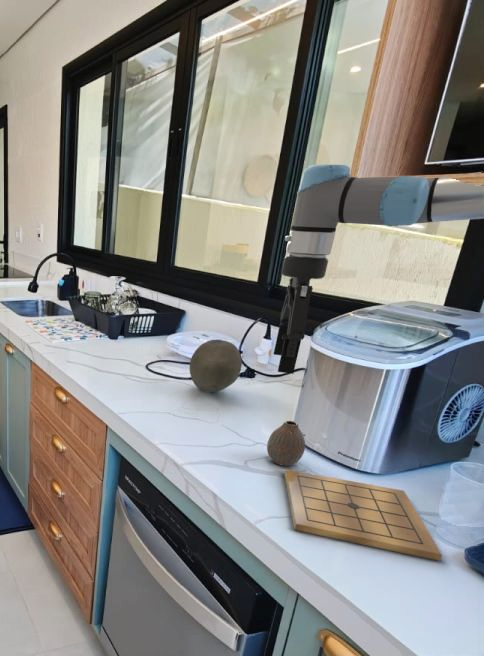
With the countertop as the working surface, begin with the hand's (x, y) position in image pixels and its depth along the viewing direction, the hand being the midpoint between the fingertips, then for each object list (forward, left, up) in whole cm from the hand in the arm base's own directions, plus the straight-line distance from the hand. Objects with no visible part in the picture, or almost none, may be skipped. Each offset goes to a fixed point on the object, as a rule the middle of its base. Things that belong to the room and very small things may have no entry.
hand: (282, 363), depth 103 cm
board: (-13, +21, -20) cm, 32 cm away
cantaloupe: (+13, -34, -20) cm, 41 cm away
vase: (-3, +5, -20) cm, 21 cm away
